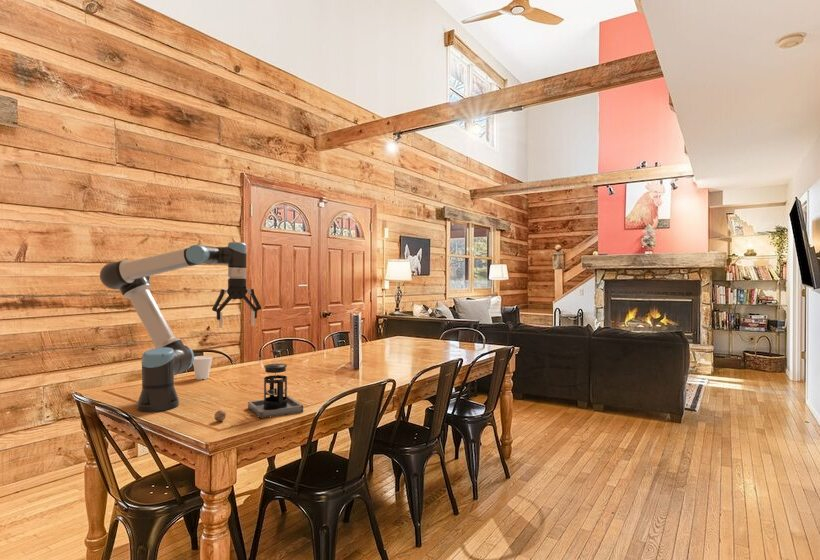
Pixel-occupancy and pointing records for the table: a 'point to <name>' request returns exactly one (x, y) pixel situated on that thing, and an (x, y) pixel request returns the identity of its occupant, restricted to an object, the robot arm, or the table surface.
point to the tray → (261, 412)
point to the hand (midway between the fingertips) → (237, 326)
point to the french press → (278, 400)
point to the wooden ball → (220, 415)
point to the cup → (202, 366)
